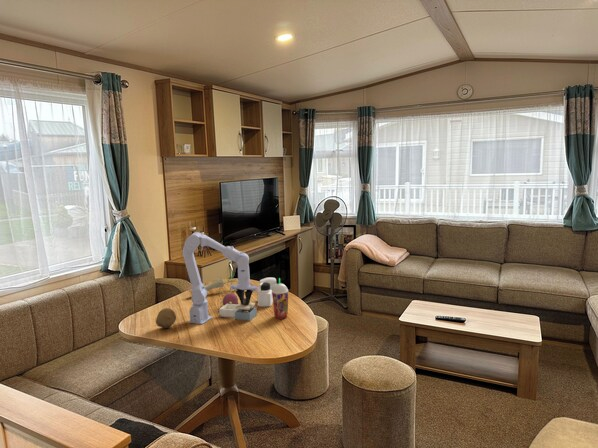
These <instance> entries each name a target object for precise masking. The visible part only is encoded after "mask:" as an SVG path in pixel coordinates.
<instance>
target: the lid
mask: <svg viewBox="0 0 598 448" xmlns="http://www.w3.org/2000/svg"><path fill="white" fill-rule="evenodd" d="M255 306H256V302H250V303H249V304H248V305H246V297H244V299H243V304H241V302H239V303H238V304H237V306H236V307H235V309H245V310H249V309H251V308H252V307H255Z"/></svg>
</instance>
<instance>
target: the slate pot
mask: <svg viewBox="0 0 598 448" xmlns="http://www.w3.org/2000/svg"><path fill="white" fill-rule="evenodd" d="M244 311H248V312H249V313H246V312H244ZM257 312H258V311H257V307H255V306H253V307H252V308H251V309H249V310H245V309H238V310H237V311H236V312H235V317H234V318H235V320H236V321H244V322H247V321H248V322H251V321H252V320H253V319H255V317H257V316H258V313H257Z"/></svg>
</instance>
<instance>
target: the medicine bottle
mask: <svg viewBox="0 0 598 448" xmlns="http://www.w3.org/2000/svg"><path fill="white" fill-rule="evenodd" d="M258 288H259V290H258V291H257V294H256V295H257V296H256V297H257V307H271V306H272V305H273V298H272V290H270V283H267V282H263V283H260V284H259V283H258Z"/></svg>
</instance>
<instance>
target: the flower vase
mask: <svg viewBox="0 0 598 448" xmlns="http://www.w3.org/2000/svg"><path fill="white" fill-rule="evenodd" d="M235 275H236V274H235V271H232V276H230V277H228V280H227V281H226V282H224V280H223V279H222V277H219V278H217V279H216V280H214V281H213V282H211V283H210V282H209V284H206V285H205V284H204V287H205V289H206V290H207V292H208V291H210V290H213V289H216V288H223V287H225V286H224V285H225V284H226V285H227V286H228V287H229V291H231V287H230V286H231V285H233V284H231V285H230V284H229V283H234V282H235V281H238V278H236V279H234V277H235ZM229 280H230V281H229ZM233 290H234V291H235V290H236V289H233ZM235 292H236V291H235ZM190 294H191V295H192V292H191V291H190Z"/></svg>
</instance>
